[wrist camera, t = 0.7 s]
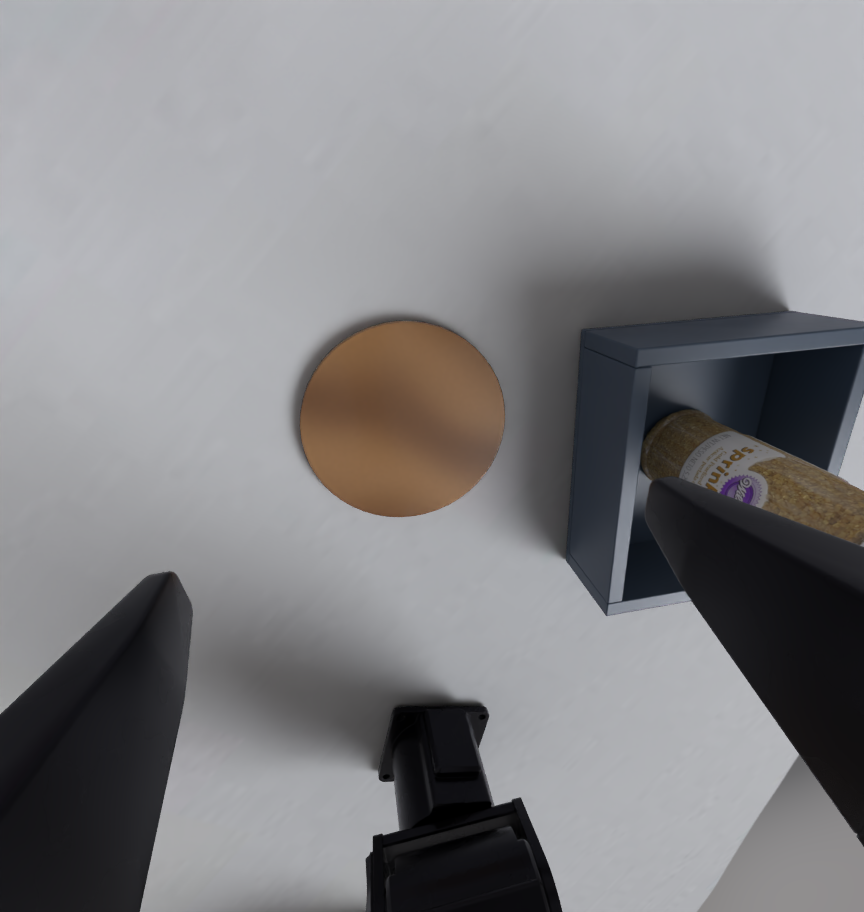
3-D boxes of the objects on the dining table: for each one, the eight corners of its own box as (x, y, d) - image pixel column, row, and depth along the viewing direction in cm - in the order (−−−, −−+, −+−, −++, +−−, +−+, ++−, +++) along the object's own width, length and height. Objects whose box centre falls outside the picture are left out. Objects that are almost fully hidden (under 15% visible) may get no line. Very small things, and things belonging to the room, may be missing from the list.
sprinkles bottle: (648, 406, 26) (927, 550, 14) (723, 408, 27) (1048, 546, 14) (627, 484, 28) (858, 674, 15) (698, 484, 28) (970, 664, 16)
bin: (738, 532, 31) (806, 581, 27) (565, 560, 29) (606, 616, 25) (790, 310, 26) (886, 324, 21) (581, 329, 24) (637, 348, 19)
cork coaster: (476, 521, 27) (478, 525, 27) (290, 503, 25) (289, 507, 24) (525, 341, 24) (528, 343, 23) (313, 300, 21) (313, 301, 21)
